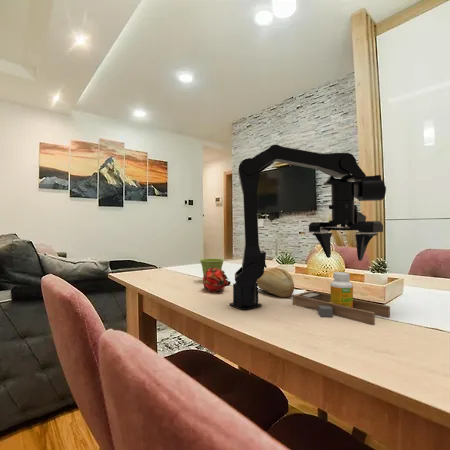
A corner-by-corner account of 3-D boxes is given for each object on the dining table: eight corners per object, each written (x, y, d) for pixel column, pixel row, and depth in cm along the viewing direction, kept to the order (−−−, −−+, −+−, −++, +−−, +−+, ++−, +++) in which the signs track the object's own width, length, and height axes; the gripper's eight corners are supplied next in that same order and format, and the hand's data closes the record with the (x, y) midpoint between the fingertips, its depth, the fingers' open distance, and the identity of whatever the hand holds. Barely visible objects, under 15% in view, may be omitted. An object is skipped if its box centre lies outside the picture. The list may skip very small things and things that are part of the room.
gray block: (332, 317, 71) (332, 308, 71) (320, 316, 71) (320, 308, 71) (329, 313, 74) (329, 305, 74) (318, 313, 74) (318, 305, 74)
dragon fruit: (211, 291, 106) (223, 304, 95) (193, 279, 103) (203, 291, 92) (225, 271, 107) (238, 282, 96) (207, 259, 104) (219, 268, 93)
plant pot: (202, 279, 120) (202, 258, 120) (225, 280, 119) (225, 258, 119) (197, 284, 111) (197, 261, 111) (222, 284, 110) (222, 261, 110)
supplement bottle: (342, 315, 73) (342, 275, 73) (326, 309, 78) (325, 272, 78) (357, 312, 75) (357, 273, 75) (340, 306, 80) (340, 270, 80)
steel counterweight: (309, 305, 81) (309, 297, 81) (301, 304, 83) (301, 295, 83) (319, 302, 84) (319, 294, 84) (312, 301, 86) (312, 292, 86)
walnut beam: (372, 324, 66) (372, 312, 66) (292, 304, 83) (292, 294, 83) (390, 316, 71) (390, 305, 71) (311, 298, 88) (311, 289, 88)
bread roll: (272, 287, 105) (272, 265, 105) (302, 296, 92) (302, 270, 92) (249, 290, 100) (249, 267, 100) (278, 300, 87) (278, 273, 87)
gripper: (392, 199, 78) (393, 259, 78) (329, 204, 92) (330, 254, 92) (371, 198, 71) (372, 263, 71) (307, 203, 86) (308, 257, 86)
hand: (343, 259), depth 80 cm, fingers open, 9 cm apart
